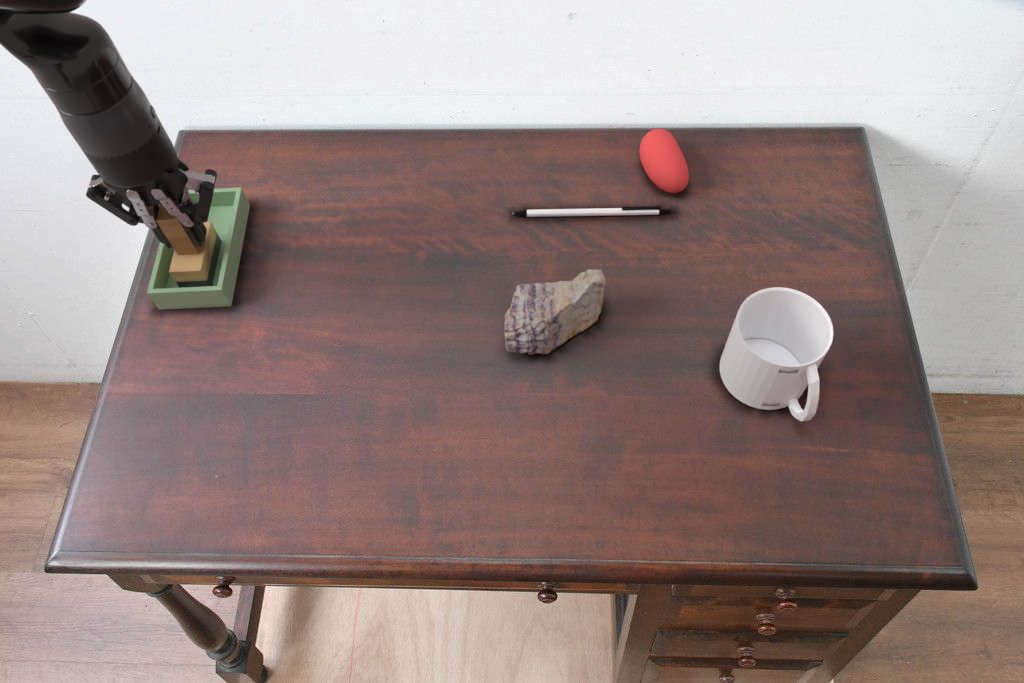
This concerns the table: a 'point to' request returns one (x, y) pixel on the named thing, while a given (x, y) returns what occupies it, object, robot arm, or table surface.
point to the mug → (777, 351)
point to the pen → (593, 211)
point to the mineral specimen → (553, 312)
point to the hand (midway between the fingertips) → (186, 240)
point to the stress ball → (664, 161)
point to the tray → (230, 226)
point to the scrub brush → (190, 252)
